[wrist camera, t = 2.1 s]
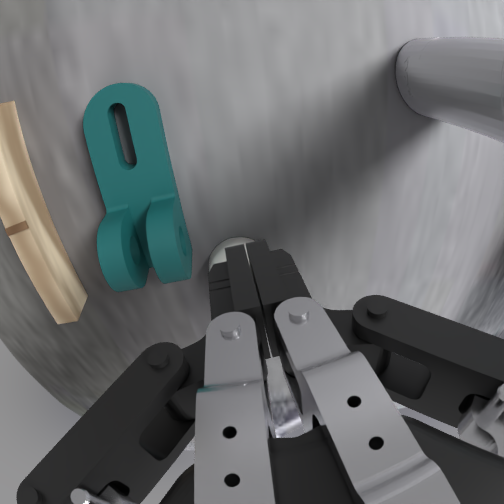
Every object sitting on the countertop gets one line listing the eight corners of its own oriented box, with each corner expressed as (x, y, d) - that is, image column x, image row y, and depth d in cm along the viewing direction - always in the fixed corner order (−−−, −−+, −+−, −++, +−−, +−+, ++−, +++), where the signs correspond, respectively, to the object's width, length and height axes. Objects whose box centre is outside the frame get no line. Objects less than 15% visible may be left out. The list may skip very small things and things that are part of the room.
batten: (14, 100, 20) (-12, 106, 17) (88, 295, 33) (77, 321, 29) (-6, 112, 20) (-32, 120, 16) (68, 299, 33) (57, 325, 29)
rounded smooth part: (262, 230, 32) (269, 247, 29) (270, 279, 36) (277, 298, 33) (202, 244, 32) (202, 261, 29) (216, 291, 35) (217, 311, 32)
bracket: (192, 248, 32) (191, 294, 26) (132, 260, 32) (118, 307, 25) (153, 74, 23) (135, 70, 16) (85, 95, 23) (47, 102, 16)
